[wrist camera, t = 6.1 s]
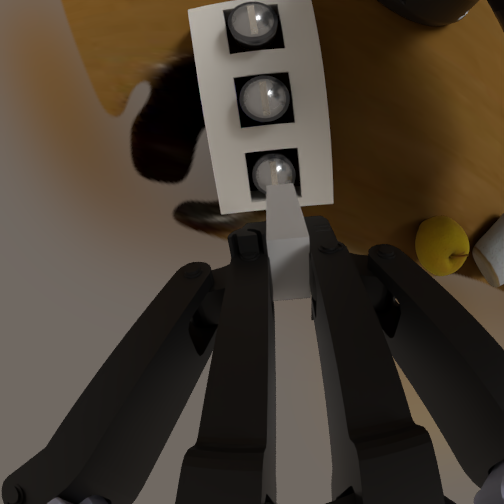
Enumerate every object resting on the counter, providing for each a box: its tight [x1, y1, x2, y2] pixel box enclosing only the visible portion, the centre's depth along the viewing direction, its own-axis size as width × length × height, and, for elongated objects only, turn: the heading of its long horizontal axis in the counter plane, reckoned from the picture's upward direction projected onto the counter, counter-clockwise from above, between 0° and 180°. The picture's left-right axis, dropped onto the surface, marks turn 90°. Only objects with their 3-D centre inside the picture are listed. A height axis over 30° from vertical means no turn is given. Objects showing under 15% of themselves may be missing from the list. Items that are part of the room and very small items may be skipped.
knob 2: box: [252, 149, 296, 194], centre depth 24 cm, size 4×4×4 cm
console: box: [188, 0, 334, 215], centre depth 21 cm, size 19×10×4 cm, turn 8°
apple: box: [415, 216, 470, 276], centre depth 25 cm, size 6×6×8 cm
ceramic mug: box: [472, 214, 504, 287], centre depth 25 cm, size 11×8×8 cm
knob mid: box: [240, 76, 290, 122], centre depth 19 cm, size 4×4×4 cm
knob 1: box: [228, 2, 278, 51], centre depth 16 cm, size 4×4×4 cm
